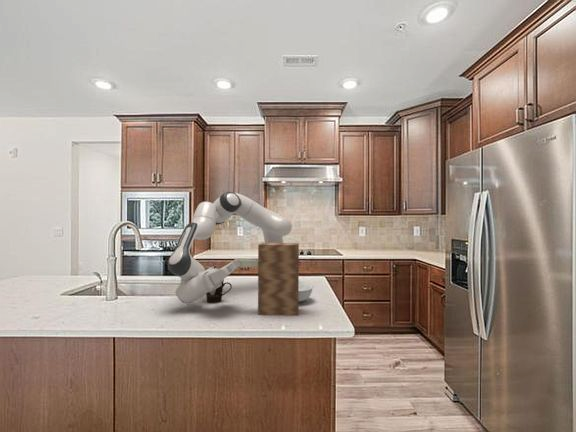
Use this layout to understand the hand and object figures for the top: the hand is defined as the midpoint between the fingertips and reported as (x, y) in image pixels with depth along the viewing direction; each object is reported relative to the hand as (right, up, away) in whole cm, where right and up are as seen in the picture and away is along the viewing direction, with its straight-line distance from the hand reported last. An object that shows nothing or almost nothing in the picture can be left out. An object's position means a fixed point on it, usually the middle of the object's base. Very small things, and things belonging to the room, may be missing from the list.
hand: (241, 261), depth 146 cm
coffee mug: (-13, -21, +16) cm, 29 cm away
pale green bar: (+8, -2, 0) cm, 8 cm away
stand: (+16, -21, 0) cm, 26 cm away
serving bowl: (+20, -21, +18) cm, 34 cm away
